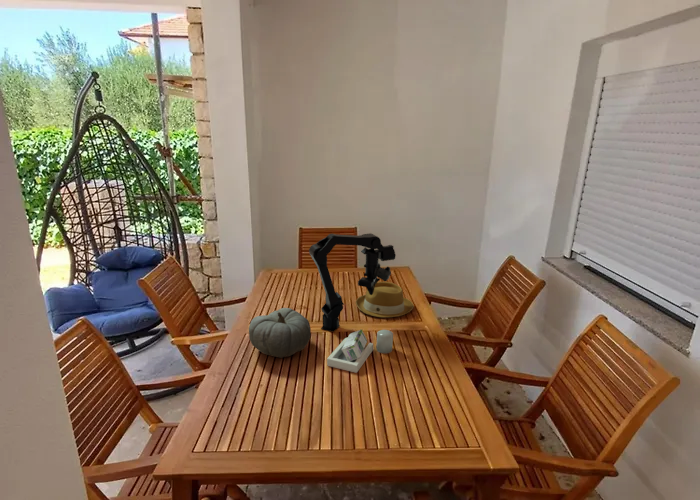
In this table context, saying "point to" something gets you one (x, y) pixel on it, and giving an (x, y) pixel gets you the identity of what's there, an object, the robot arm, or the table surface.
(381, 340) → the grey rounded dome
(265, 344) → the gourd
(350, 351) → the syrup box
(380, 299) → the fedora
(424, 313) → the table surface
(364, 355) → the cradle
